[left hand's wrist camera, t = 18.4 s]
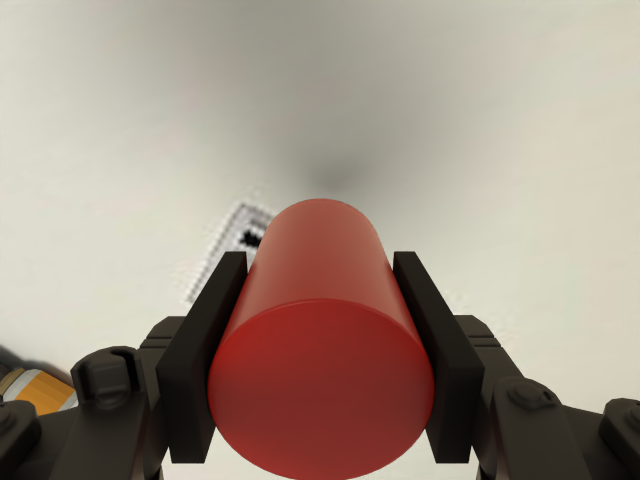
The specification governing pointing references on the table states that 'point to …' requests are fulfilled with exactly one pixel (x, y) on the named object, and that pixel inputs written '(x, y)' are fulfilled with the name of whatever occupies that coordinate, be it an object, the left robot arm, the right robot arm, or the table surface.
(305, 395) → the can
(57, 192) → the table surface
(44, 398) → the spray gun
